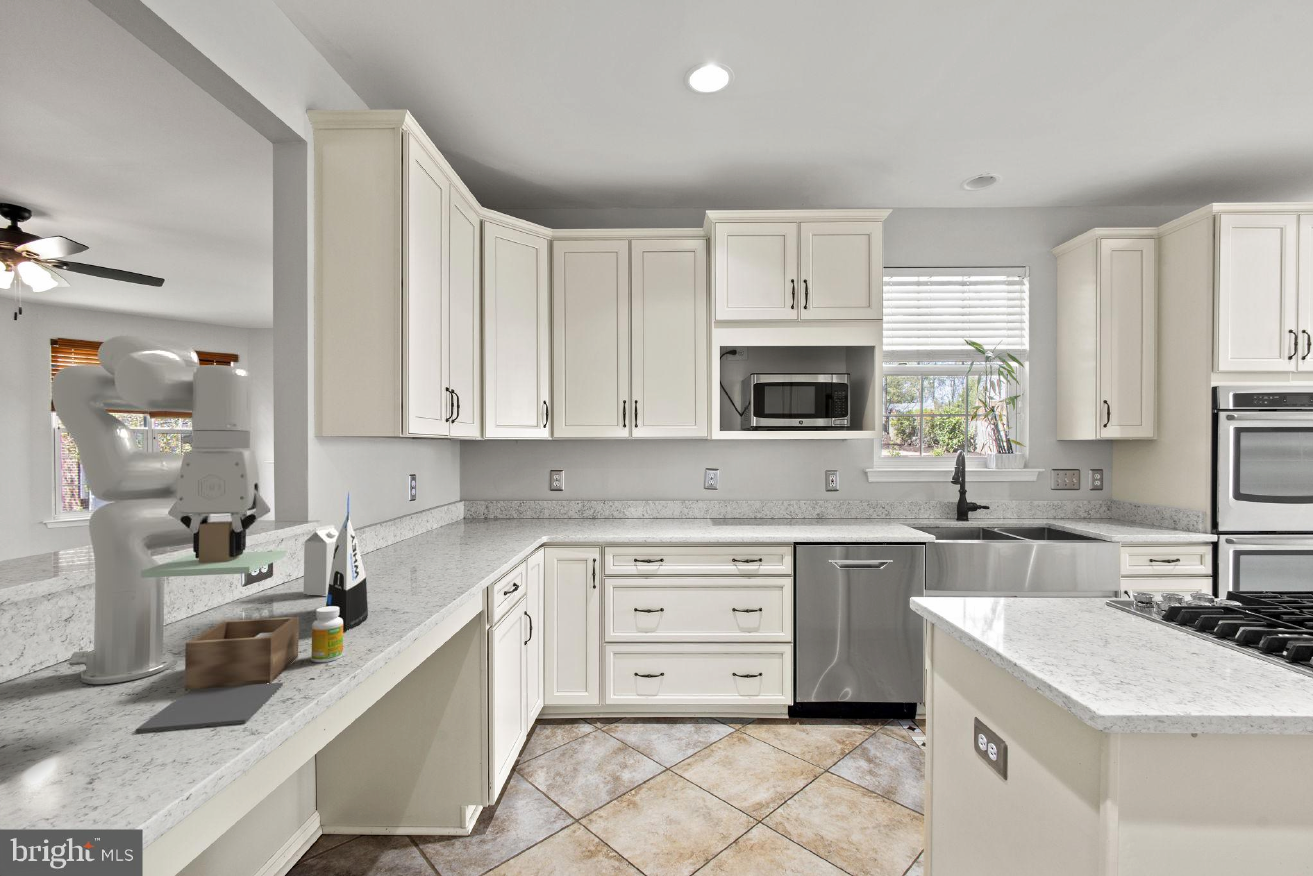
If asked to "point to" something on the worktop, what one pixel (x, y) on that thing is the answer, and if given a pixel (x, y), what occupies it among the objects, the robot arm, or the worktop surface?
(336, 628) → the supplement bottle
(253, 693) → the rubber mat
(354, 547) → the protein powder
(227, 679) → the storage box
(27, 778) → the worktop surface
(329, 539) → the milk carton
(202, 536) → the lid
